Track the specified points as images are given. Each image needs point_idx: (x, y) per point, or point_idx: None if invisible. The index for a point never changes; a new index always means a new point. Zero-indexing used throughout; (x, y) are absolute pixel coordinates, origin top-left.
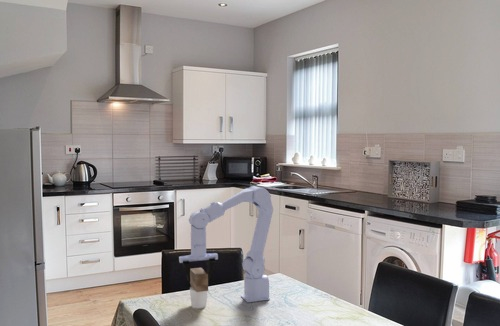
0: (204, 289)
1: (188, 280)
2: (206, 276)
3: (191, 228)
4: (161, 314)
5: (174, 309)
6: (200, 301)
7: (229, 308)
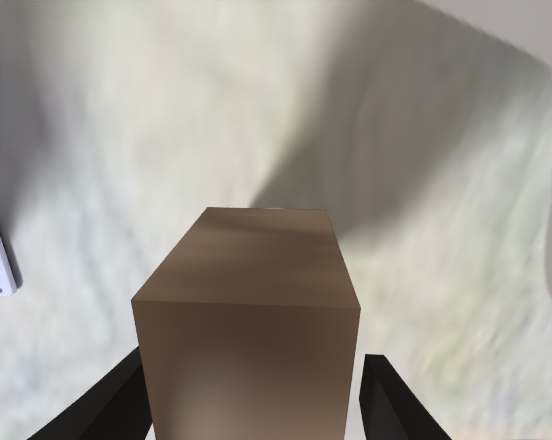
0: (241, 212)
1: (390, 364)
2: (172, 283)
3: None
4: (523, 196)
5: (423, 243)
6: None
7: (106, 136)
